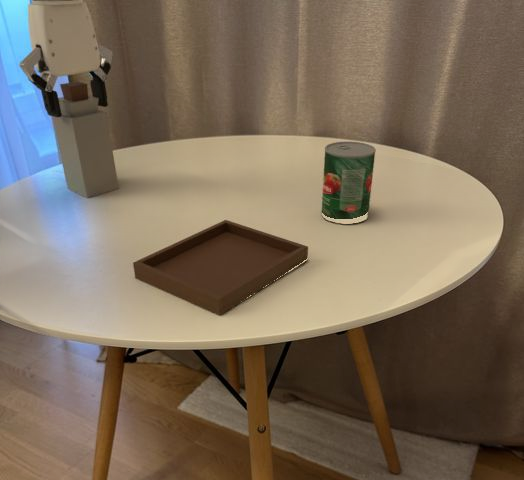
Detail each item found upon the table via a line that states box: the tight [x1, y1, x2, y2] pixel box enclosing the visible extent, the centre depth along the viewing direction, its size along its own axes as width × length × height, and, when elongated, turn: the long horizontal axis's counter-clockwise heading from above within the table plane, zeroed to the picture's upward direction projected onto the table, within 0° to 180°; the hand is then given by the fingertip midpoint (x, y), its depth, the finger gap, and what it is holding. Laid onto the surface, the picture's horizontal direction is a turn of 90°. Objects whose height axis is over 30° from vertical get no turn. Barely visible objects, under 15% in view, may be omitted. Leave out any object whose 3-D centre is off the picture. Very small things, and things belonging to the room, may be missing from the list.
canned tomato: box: [321, 140, 377, 219], centre depth 89 cm, size 8×8×11 cm
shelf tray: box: [132, 219, 309, 316], centre depth 76 cm, size 19×16×2 cm
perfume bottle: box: [51, 81, 120, 199], centre depth 98 cm, size 7×7×18 cm
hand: (78, 110), depth 95 cm, fingers open, 9 cm apart
